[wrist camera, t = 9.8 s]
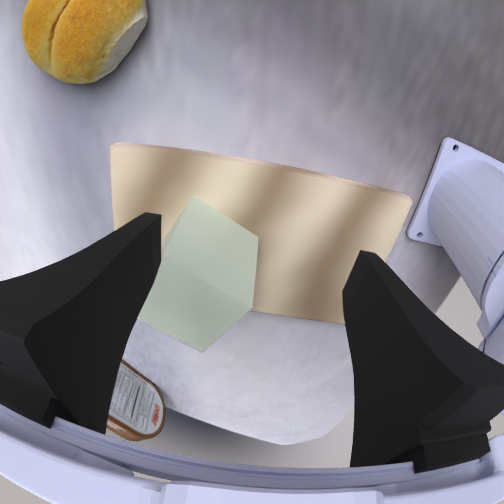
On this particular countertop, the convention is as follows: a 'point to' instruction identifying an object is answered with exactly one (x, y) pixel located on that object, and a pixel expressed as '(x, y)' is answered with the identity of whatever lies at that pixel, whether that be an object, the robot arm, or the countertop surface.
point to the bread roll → (81, 36)
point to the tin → (135, 406)
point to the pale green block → (202, 277)
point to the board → (267, 218)
